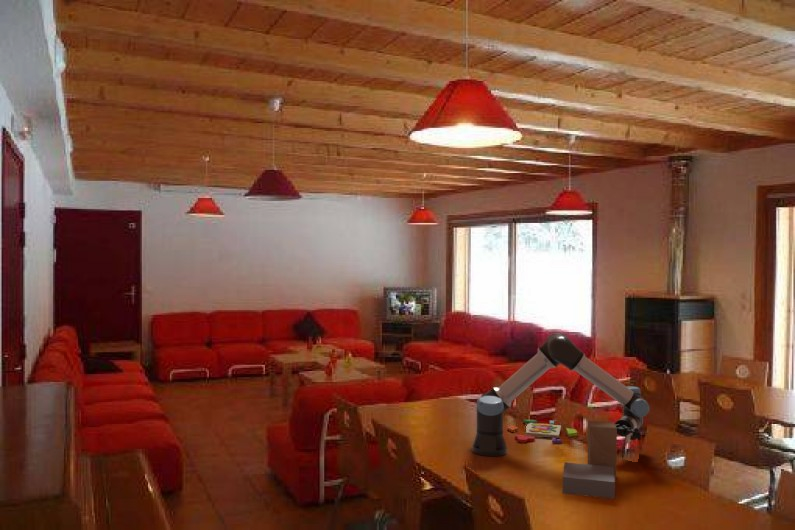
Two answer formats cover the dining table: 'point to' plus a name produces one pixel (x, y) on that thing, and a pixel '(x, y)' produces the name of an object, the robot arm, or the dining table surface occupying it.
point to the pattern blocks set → (541, 431)
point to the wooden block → (602, 444)
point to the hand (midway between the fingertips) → (610, 437)
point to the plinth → (588, 480)
